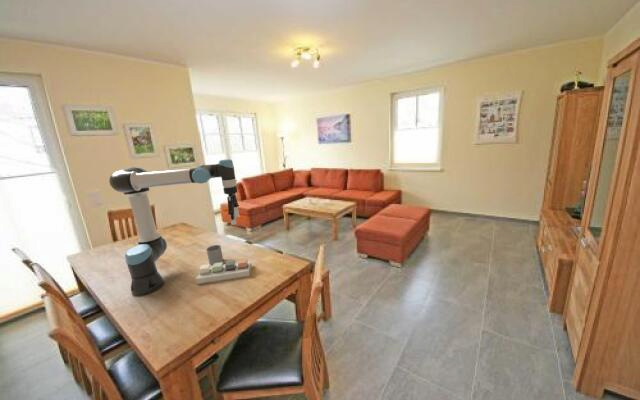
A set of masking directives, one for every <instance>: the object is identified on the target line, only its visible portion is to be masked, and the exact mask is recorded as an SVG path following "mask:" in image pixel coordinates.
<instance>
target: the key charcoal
mask: <svg viewBox="0 0 640 400" xmlns="http://www.w3.org/2000/svg"><path fill="white" fill-rule="evenodd" d="M236 263H237V262H236V260H228V261H226V262H225V268H226V269H227V271H232V270H235V264H236Z"/></svg>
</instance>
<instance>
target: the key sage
mask: <svg viewBox="0 0 640 400" xmlns="http://www.w3.org/2000/svg"><path fill="white" fill-rule="evenodd" d="M223 265H224V261H223V262H220V263H214V264H213V265H212V266H213V267H212V270H213V271H214V273H219V272H222V270H223Z"/></svg>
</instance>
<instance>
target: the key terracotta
mask: <svg viewBox="0 0 640 400" xmlns="http://www.w3.org/2000/svg"><path fill="white" fill-rule="evenodd" d="M248 261H249V260H248V258H242V259H241V258H240V259H238V262H237V263H238V267H239V269H245V268H247V264H248Z"/></svg>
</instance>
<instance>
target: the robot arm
mask: <svg viewBox="0 0 640 400" xmlns="http://www.w3.org/2000/svg"><path fill="white" fill-rule="evenodd" d="M214 178H221V184H222V187H223V189H222V190H223V194H225V195H228V196H227V199H226V200H227V211H228V213H227V215H228V216H229V219H230V225H232V226H234V225H237V219H236V218H240V212H239V207H240V205H239V203H238V199H237V196H236V195H237V193H238V186H237V182H238V180H237V179H236V173H235V167H234V163H233V160H232V159H231V158H230V159H229V158H228V159H227V158H226V159H220V160H218V163H216V164H214V163H213V164H201V165H198V166H197V167H195V168H185V169H173V170H170V169H169V170H160V171H150V172H148V171H147V170H146V169H144V168H143V167H138V166H132V167H127V168H123V169H119V170H118V169H117V170H116V171H114V172H113V173H111V175H110V177H109V180H108V181H109V185H110V186H111V188H112V189H113V190H115V191H116V192H118V193H123V194H124V195H125V196H127V197H128V201H129V204H130V207H131V211H132V215H133V218H134V221H135V225H136V228H137V232H138V236H139V238H138V239H137V245H135V246H134V247H131V248H129V249H128V250H127V251H126V252H125V254H124V257H125V263H126V265H127V267H128V268H127V269H128V271H129V272H128V273H129V274H130V275H129V276H130V278H131V284H130V285H131V286H130V292H131V295H132V296H136V297H140V296H145V295H149V294H151V293H153V292H155V291H157V290H159V289H160V288H162V287H163V286H164V285H165V281H164V280H165V279H164V277H163V276H162V275H161V273H160V272H159V271H158V268H157V266H156V262H157V261H158V260H159V259H160V258H161V257H162V256H163V255H164V253H165V252H166V250H167V247H168V243H167V240H166V239H165V238H163V237H162V234H161V233H158V230H157V227H156V223H155V219H154V216H153V212H152V207H151V204H150V200H149V196H148V193H149V192H150V188H157V187H159V188H160V187H166V186H167V187H168V186H177V185H186V184H204V183H205V184H206V183H207V182H208V181H210V180H211V179H214Z"/></svg>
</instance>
